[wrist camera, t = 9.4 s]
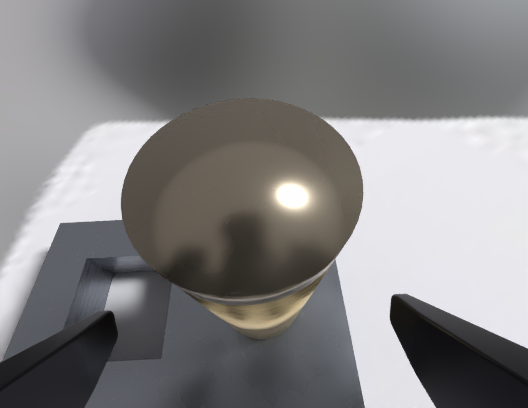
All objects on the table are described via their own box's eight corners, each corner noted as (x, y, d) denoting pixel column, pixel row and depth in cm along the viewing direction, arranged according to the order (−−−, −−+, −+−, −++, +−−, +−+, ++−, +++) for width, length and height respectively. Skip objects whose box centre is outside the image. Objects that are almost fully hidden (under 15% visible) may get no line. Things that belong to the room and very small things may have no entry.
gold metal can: (304, 337, 15) (397, 288, 4) (222, 341, 15) (86, 303, 4) (295, 257, 17) (336, 94, 6) (225, 261, 17) (147, 102, 6)
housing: (347, 403, 16) (366, 414, 13) (28, 420, 16) (-29, 435, 13) (317, 229, 22) (325, 209, 19) (89, 241, 22) (60, 223, 19)
